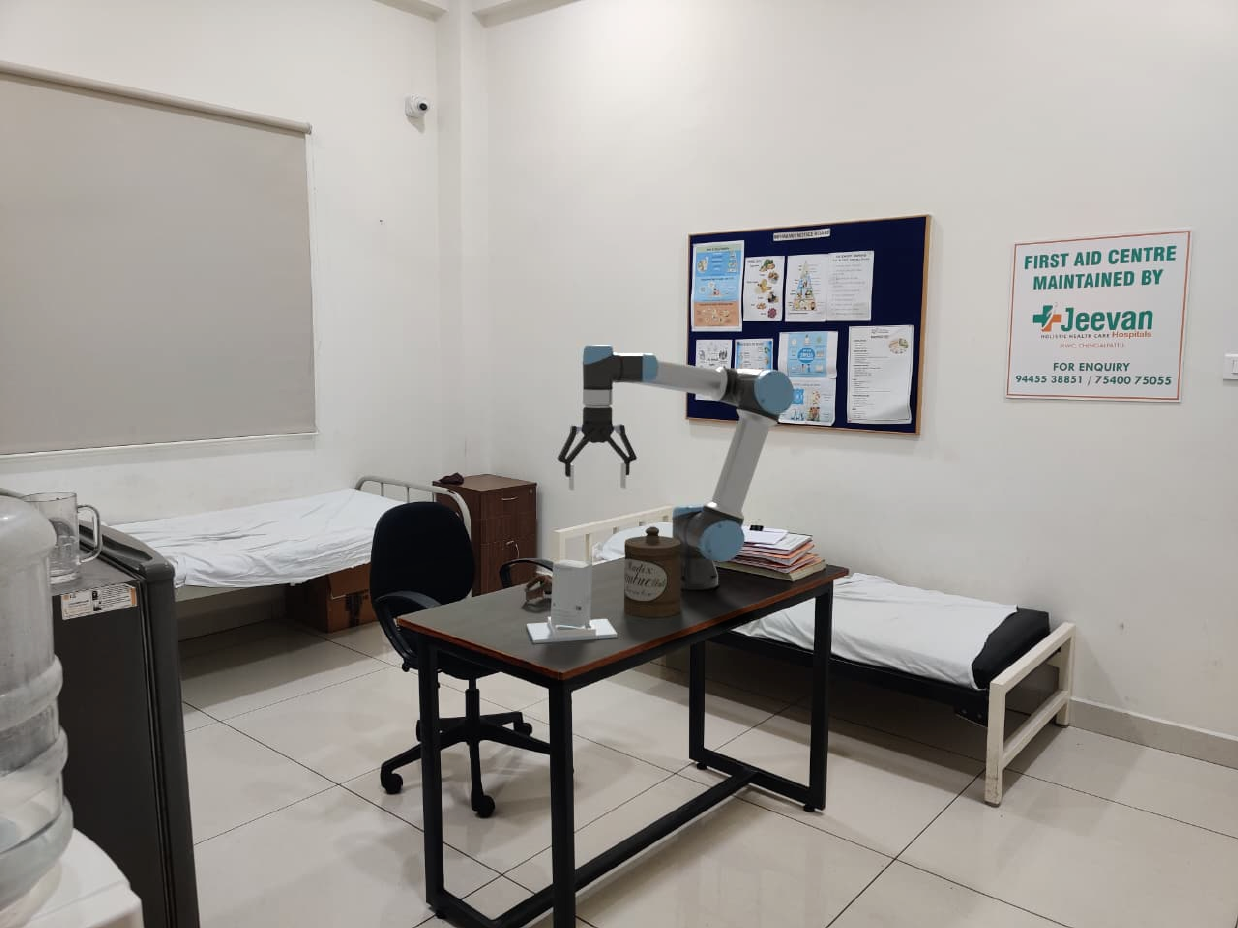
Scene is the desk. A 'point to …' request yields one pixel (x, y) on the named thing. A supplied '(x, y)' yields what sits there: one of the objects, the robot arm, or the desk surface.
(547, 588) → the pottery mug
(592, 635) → the white box stand
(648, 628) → the desk surface
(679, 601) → the wooden container
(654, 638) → the desk surface
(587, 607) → the skincare box
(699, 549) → the robot arm
